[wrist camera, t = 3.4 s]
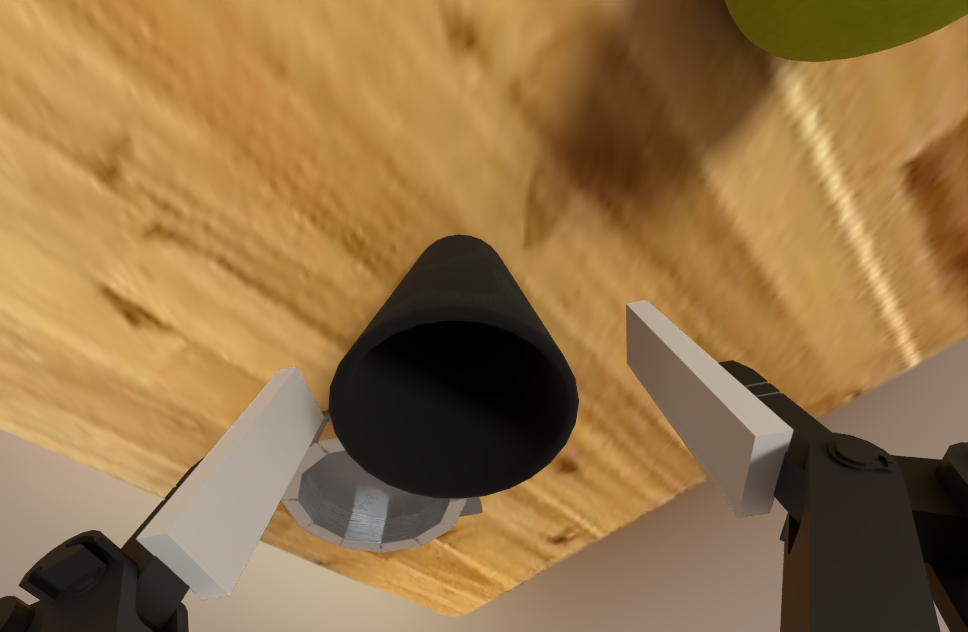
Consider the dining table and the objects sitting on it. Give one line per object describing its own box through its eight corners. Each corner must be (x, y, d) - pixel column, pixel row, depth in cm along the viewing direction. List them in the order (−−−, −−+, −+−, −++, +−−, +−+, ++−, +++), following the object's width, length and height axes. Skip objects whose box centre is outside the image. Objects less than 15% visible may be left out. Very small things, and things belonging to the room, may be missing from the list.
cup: (378, 235, 20) (277, 348, 9) (507, 200, 19) (559, 276, 9) (422, 345, 23) (385, 518, 13) (532, 317, 23) (591, 475, 12)
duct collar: (334, 532, 32) (324, 564, 30) (261, 423, 26) (240, 452, 23) (482, 507, 32) (483, 538, 29) (444, 388, 25) (442, 415, 23)
